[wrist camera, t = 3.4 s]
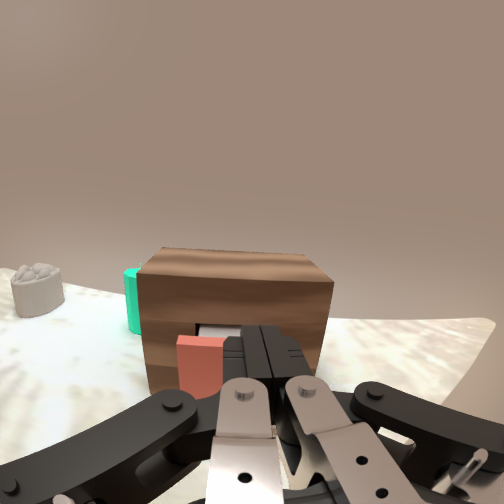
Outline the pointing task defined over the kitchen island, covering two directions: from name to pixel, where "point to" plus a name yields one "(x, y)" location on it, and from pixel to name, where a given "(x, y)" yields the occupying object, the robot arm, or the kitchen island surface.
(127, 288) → the candle
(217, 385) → the coral square plate
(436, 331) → the kitchen island surface
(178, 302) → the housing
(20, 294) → the lumpy-topped squat cylinder
